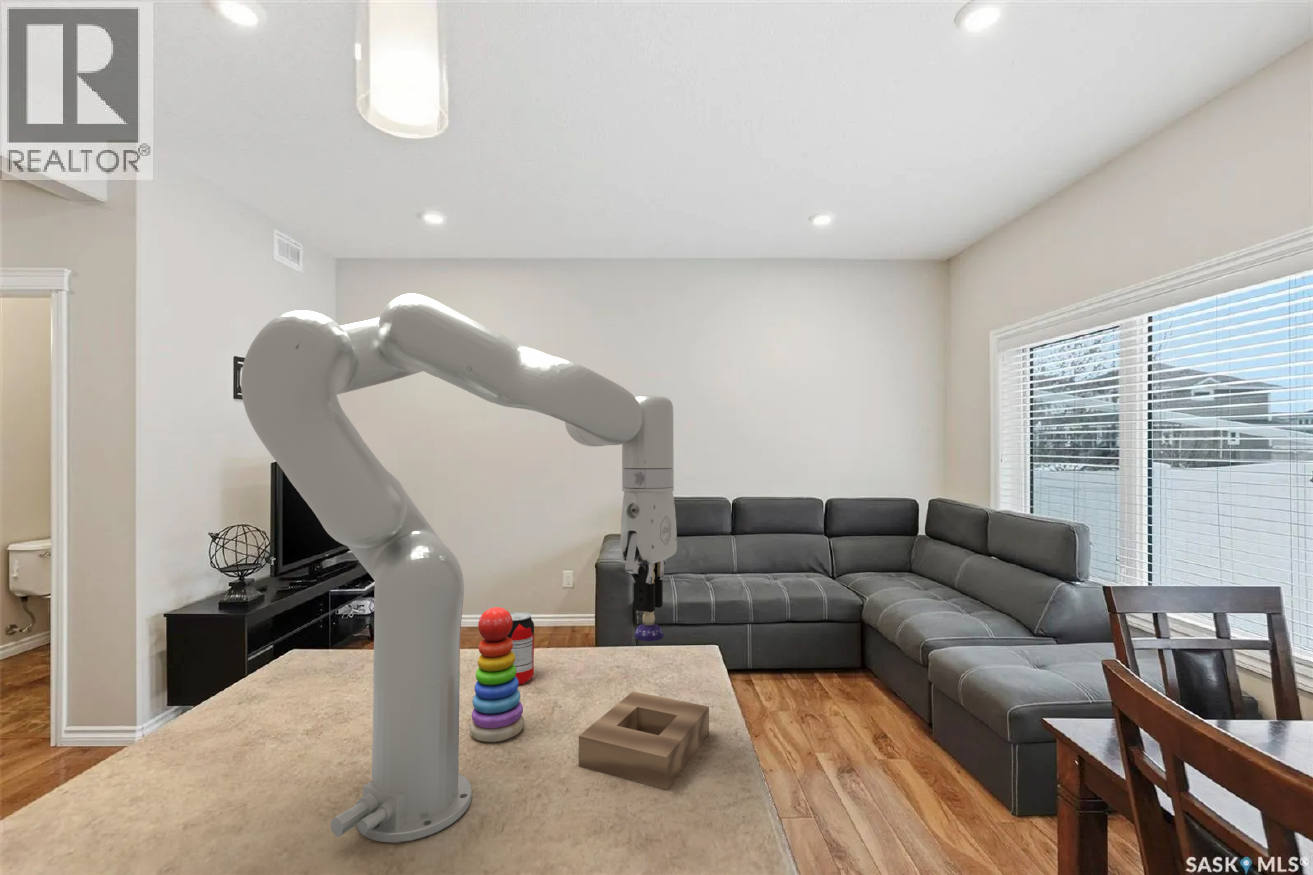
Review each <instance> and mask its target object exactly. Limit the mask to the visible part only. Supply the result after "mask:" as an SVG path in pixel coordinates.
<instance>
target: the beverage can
mask: <svg viewBox="0 0 1313 875" xmlns="http://www.w3.org/2000/svg"><path fill="white" fill-rule="evenodd" d="M509 613H510V615H511V617H512V621H513V625H512V629H511V631H510V633H509V634H508V636H507V637H509V638H510V639H511V640H512V641H513V648H512V650H511V651H512V652H513V653H514V655H515V662H514V663H513V664H514V665H515V667H516V675H515V676H516V677H517V679H518V682H519V684H521V685H524V684H526V683H528V682H529V681H530V680H531V679H532V678H533V676H534V669H535V668H534V666H535V665H534V664H535V658H534V657H535V623H534V621H533V619H532V615H531V613H529V612H524V611H516V612H509ZM527 681H528V682H527ZM525 682H526V683H525ZM523 683H524V684H523Z"/></svg>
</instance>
